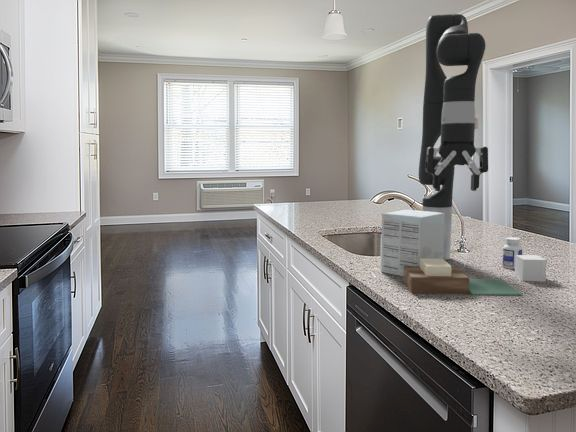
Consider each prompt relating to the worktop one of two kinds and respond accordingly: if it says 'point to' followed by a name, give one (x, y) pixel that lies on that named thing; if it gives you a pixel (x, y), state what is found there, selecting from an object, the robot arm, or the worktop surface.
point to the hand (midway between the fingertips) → (455, 190)
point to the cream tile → (435, 267)
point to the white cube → (530, 268)
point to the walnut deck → (435, 281)
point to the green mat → (491, 287)
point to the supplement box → (410, 239)
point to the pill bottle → (511, 252)
